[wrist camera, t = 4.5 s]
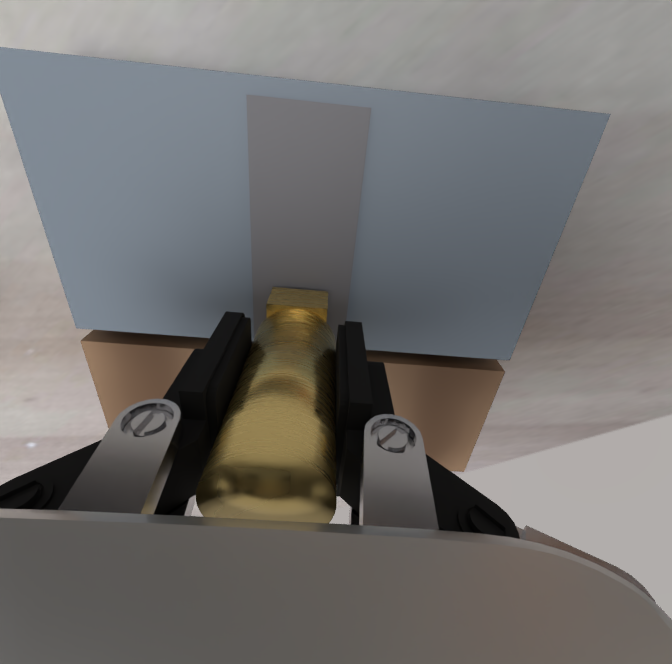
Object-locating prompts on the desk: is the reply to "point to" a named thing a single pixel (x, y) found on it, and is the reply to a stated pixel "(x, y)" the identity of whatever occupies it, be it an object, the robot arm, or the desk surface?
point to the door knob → (279, 421)
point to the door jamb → (401, 368)
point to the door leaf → (293, 199)
